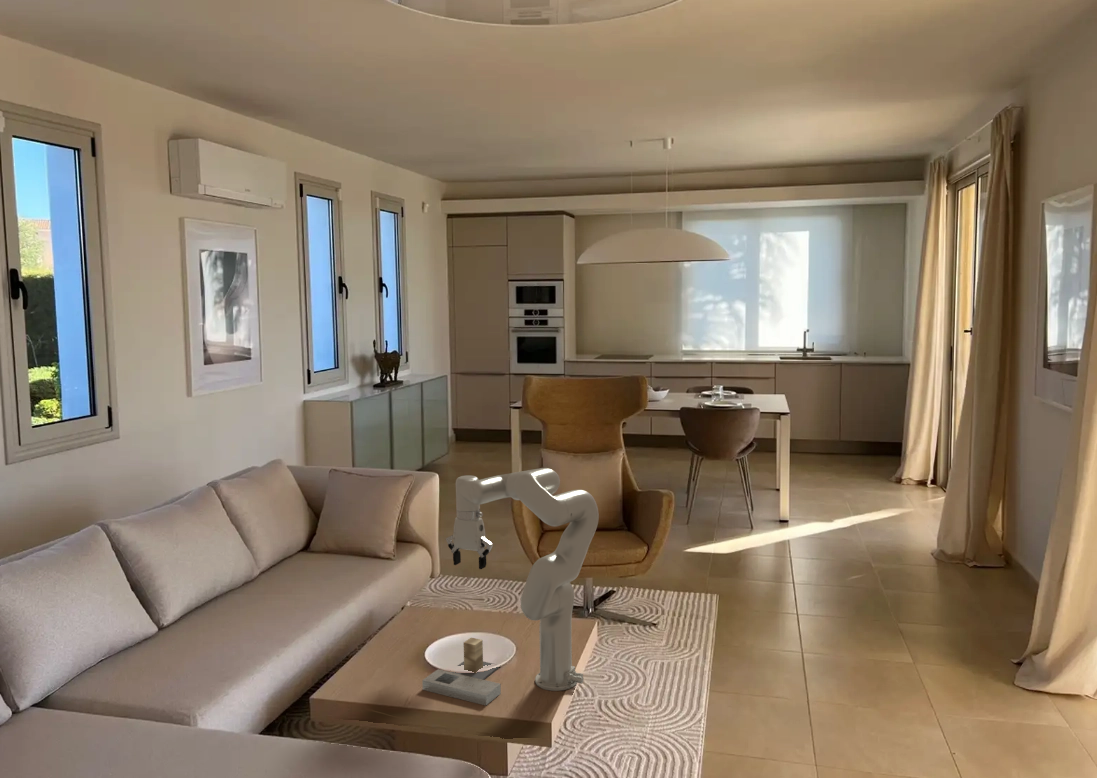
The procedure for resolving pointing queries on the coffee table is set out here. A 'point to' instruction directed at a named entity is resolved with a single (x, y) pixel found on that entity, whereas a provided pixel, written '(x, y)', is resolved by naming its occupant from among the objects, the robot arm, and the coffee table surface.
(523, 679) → the coffee table surface
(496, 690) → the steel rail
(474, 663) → the birch peg
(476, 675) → the charcoal mat
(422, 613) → the coffee table surface
